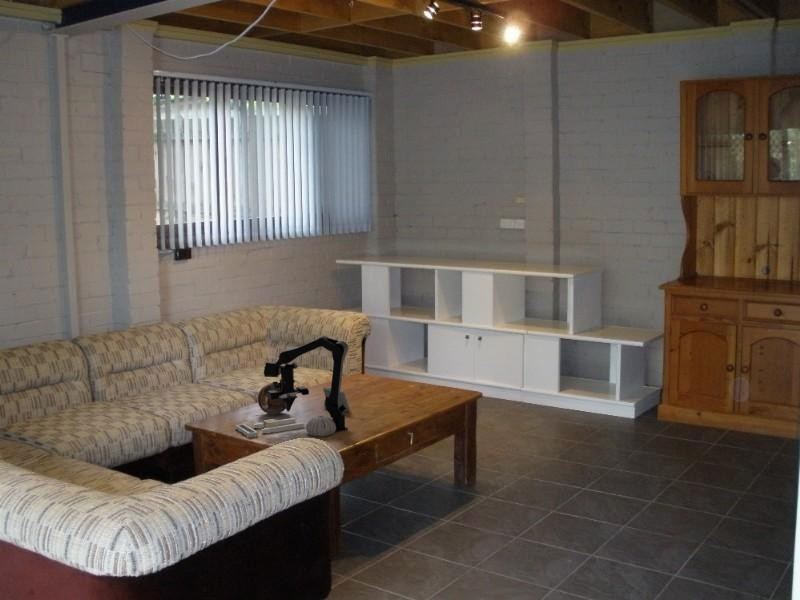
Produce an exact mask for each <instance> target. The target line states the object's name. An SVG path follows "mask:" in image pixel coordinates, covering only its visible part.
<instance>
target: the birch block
mask: <svg viewBox="0 0 800 600" xmlns="http://www.w3.org/2000/svg"><path fill="white" fill-rule="evenodd" d="M262 423H263V428H270V427H277V426H279V425H278V421H276V419H274V418H272V419H265V420H264V419H263V421H262ZM263 428H262V429H263Z"/></svg>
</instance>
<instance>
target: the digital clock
mask: <svg viewBox="0 0 800 600" xmlns="http://www.w3.org/2000/svg"><path fill="white" fill-rule="evenodd" d="M322 390H323V393H324V397H326V396H327V395H329V394H330V392H331V386H327V385H326V386H324V387H323V389H322ZM340 393H341V397H342V404H343V405H344V406H345V407H346V408H347V411H346V412H350V406H349V402H348V398H347V396H346V393H345V391H343V390H341V389H340ZM323 402H324V403H323V404H324V405H323V407H324V409H325V410H326V406H325V403H326V398H324V401H323Z"/></svg>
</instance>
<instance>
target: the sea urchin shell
mask: <svg viewBox="0 0 800 600" xmlns="http://www.w3.org/2000/svg"><path fill="white" fill-rule="evenodd" d="M335 425H336V424H335V423H334V422H333V420H332V417H329V416H327V415H316V416H315V417H312V418H311V419H310V420H309V421H308V422H307V424H306V426H305V429H306V430H305V431H306V432H307V433H308V435H310V436H312V437H320V438H321V437H322V438H323V437H329V436H331V435H333V434H335V432H336V431H335V430H336V426H335Z"/></svg>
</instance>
